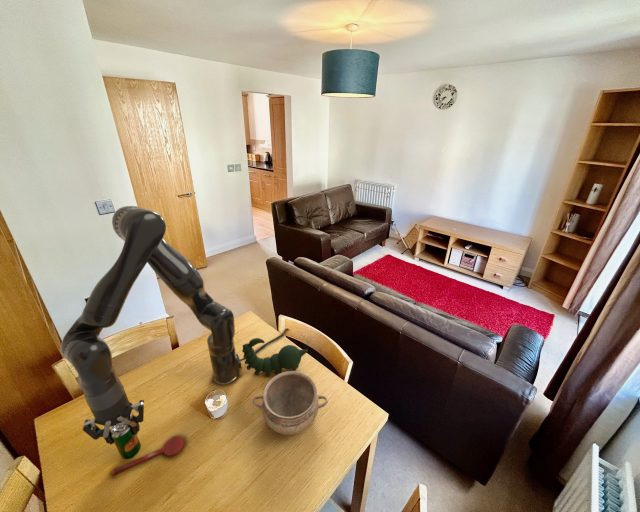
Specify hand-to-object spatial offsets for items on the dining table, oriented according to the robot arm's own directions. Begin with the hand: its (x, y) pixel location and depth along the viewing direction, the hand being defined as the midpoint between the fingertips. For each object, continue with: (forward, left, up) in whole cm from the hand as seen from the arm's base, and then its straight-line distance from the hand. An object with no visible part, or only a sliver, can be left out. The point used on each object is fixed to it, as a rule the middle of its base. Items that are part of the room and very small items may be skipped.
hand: (124, 436), depth 78 cm
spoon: (-5, +3, -9) cm, 11 cm away
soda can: (0, 0, -8) cm, 8 cm away
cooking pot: (-47, +11, -9) cm, 49 cm away
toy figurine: (-50, -10, -9) cm, 52 cm away
